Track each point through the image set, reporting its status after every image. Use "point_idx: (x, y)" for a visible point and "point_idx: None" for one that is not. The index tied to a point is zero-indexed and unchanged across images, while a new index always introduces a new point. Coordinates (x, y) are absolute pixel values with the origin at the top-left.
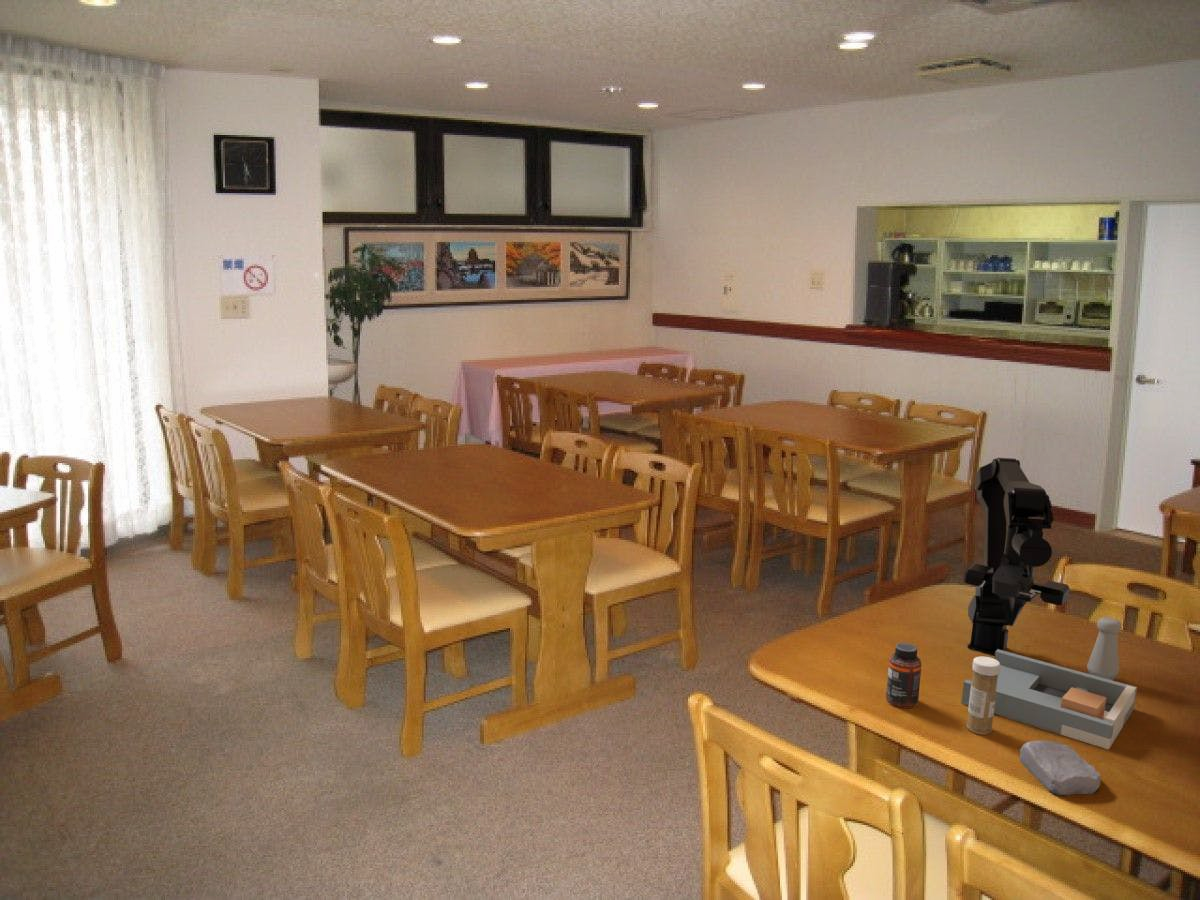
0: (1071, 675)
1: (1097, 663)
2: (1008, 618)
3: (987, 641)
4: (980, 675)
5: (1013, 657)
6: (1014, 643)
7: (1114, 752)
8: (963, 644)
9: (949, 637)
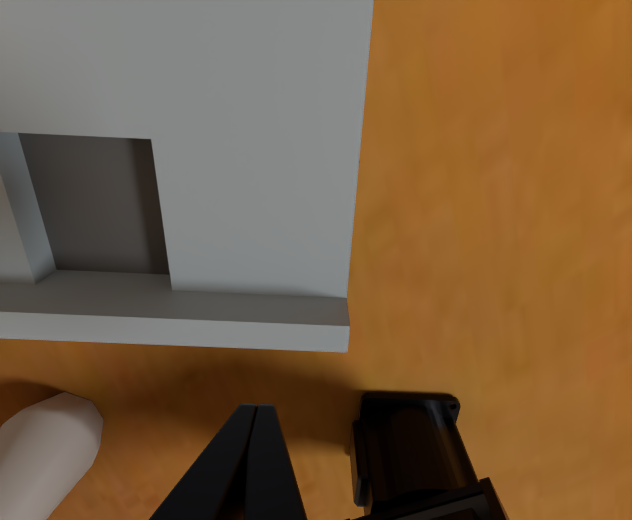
0: (35, 304)
1: (30, 440)
2: (266, 444)
3: (405, 430)
4: None
5: (271, 319)
6: (341, 485)
7: None
8: (471, 412)
9: (518, 432)
